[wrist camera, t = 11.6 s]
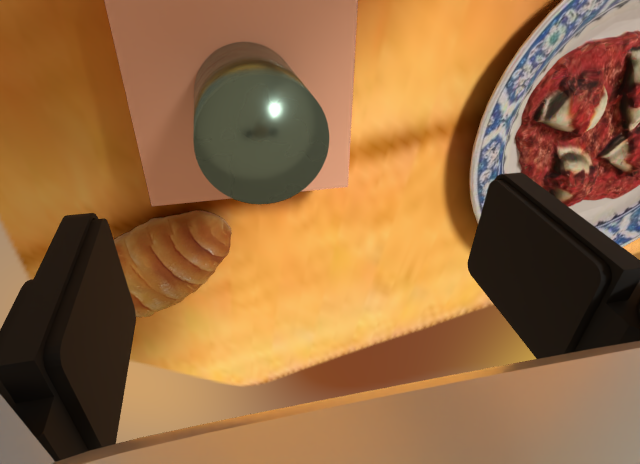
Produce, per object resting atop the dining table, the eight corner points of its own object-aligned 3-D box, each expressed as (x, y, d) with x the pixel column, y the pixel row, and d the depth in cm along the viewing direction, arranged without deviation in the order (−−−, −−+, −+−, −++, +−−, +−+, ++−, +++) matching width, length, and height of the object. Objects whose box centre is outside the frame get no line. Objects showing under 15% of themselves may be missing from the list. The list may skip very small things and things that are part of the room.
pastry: (195, 180, 30) (195, 207, 26) (250, 244, 33) (255, 274, 30) (85, 250, 30) (73, 284, 27) (151, 304, 34) (147, 340, 31)
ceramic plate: (462, 287, 42) (478, 308, 40) (448, -2, 27) (472, 2, 25) (697, 204, 44) (726, 219, 41) (806, -113, 29) (863, -119, 26)
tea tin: (296, 40, 22) (331, 71, 17) (297, 141, 25) (327, 197, 20) (186, 43, 21) (182, 77, 15) (201, 149, 24) (203, 210, 18)
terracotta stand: (337, -35, 24) (359, -32, 21) (331, 161, 31) (347, 186, 28) (110, -37, 22) (96, -34, 19) (156, 177, 28) (151, 206, 25)
